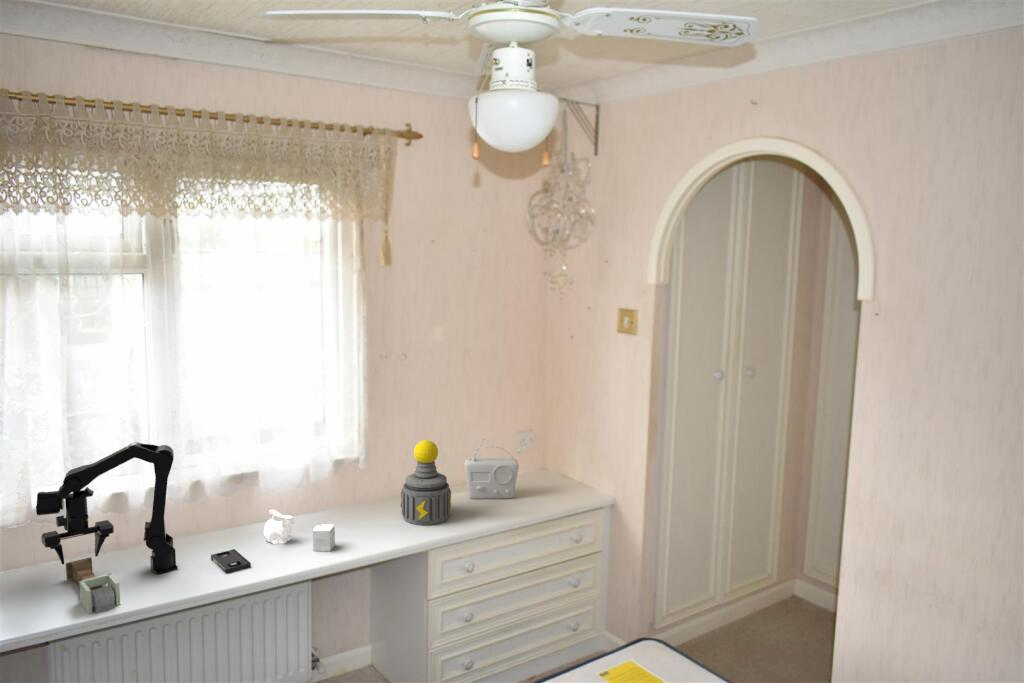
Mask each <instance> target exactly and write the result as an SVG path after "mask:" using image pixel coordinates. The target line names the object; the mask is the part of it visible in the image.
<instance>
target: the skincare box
mask: <svg viewBox="0 0 1024 683" xmlns="http://www.w3.org/2000/svg"><path fill="white" fill-rule="evenodd" d="M335 528H336V527H335V524H323V523H322V524H320V523H319V524H317V525H316V526H314V528H313V530H312V551H313V552H331V551H332V549H333V548H334V547H335V545H336V531H335Z"/></svg>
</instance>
